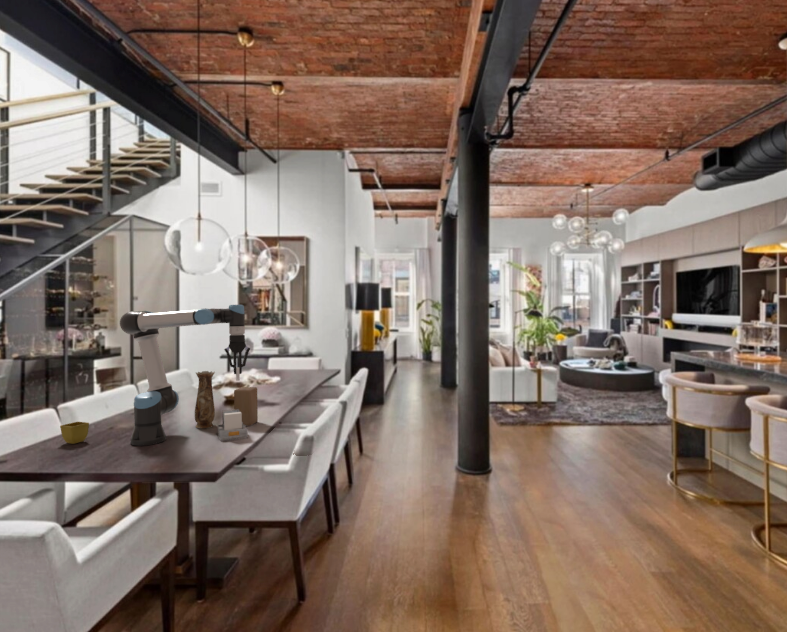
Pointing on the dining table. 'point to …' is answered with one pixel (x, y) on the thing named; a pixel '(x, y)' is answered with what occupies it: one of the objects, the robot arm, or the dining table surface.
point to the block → (247, 404)
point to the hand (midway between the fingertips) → (237, 380)
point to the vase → (204, 400)
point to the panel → (232, 421)
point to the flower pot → (74, 432)
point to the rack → (231, 434)
